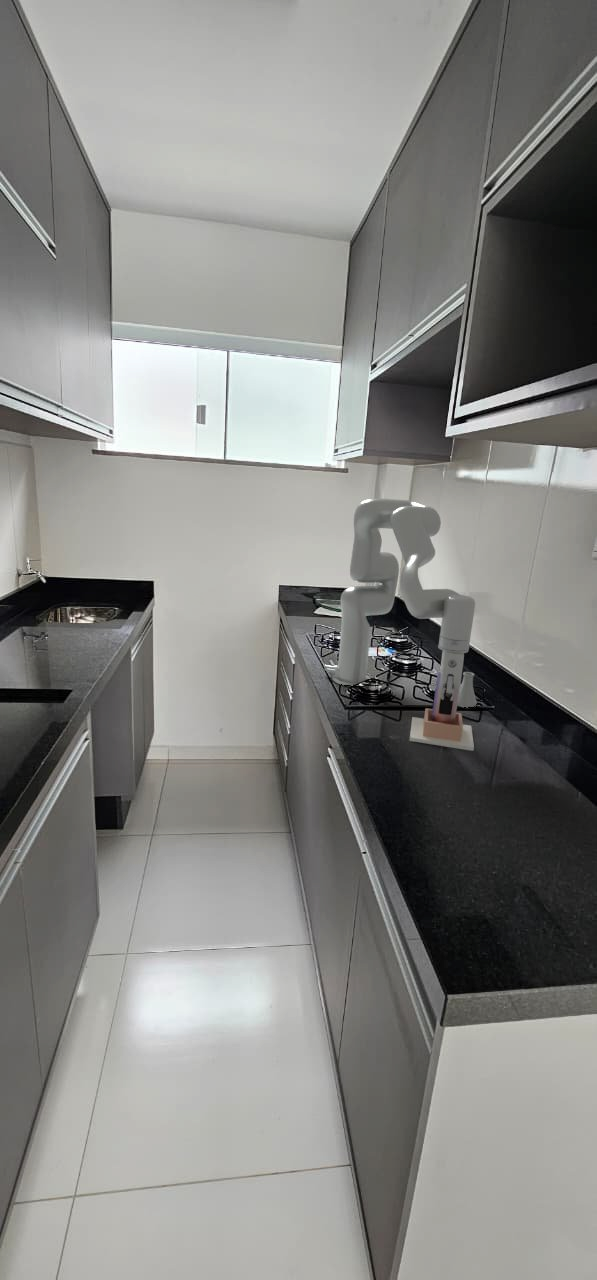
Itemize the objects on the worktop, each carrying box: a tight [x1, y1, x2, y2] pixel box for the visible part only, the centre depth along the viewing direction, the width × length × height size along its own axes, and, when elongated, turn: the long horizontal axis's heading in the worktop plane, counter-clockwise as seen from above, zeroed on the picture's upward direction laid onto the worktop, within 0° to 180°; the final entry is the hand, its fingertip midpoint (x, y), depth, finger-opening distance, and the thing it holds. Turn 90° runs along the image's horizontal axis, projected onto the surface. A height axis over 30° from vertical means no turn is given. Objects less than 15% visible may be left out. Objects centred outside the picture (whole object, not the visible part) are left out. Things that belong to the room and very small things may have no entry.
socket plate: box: [409, 707, 475, 751], centre depth 154 cm, size 16×14×5 cm
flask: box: [457, 671, 478, 709], centre depth 176 cm, size 7×7×10 cm
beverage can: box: [431, 668, 459, 725], centre depth 152 cm, size 6×6×15 cm
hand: (444, 708), depth 153 cm, fingers closed on beverage can, 6 cm apart
